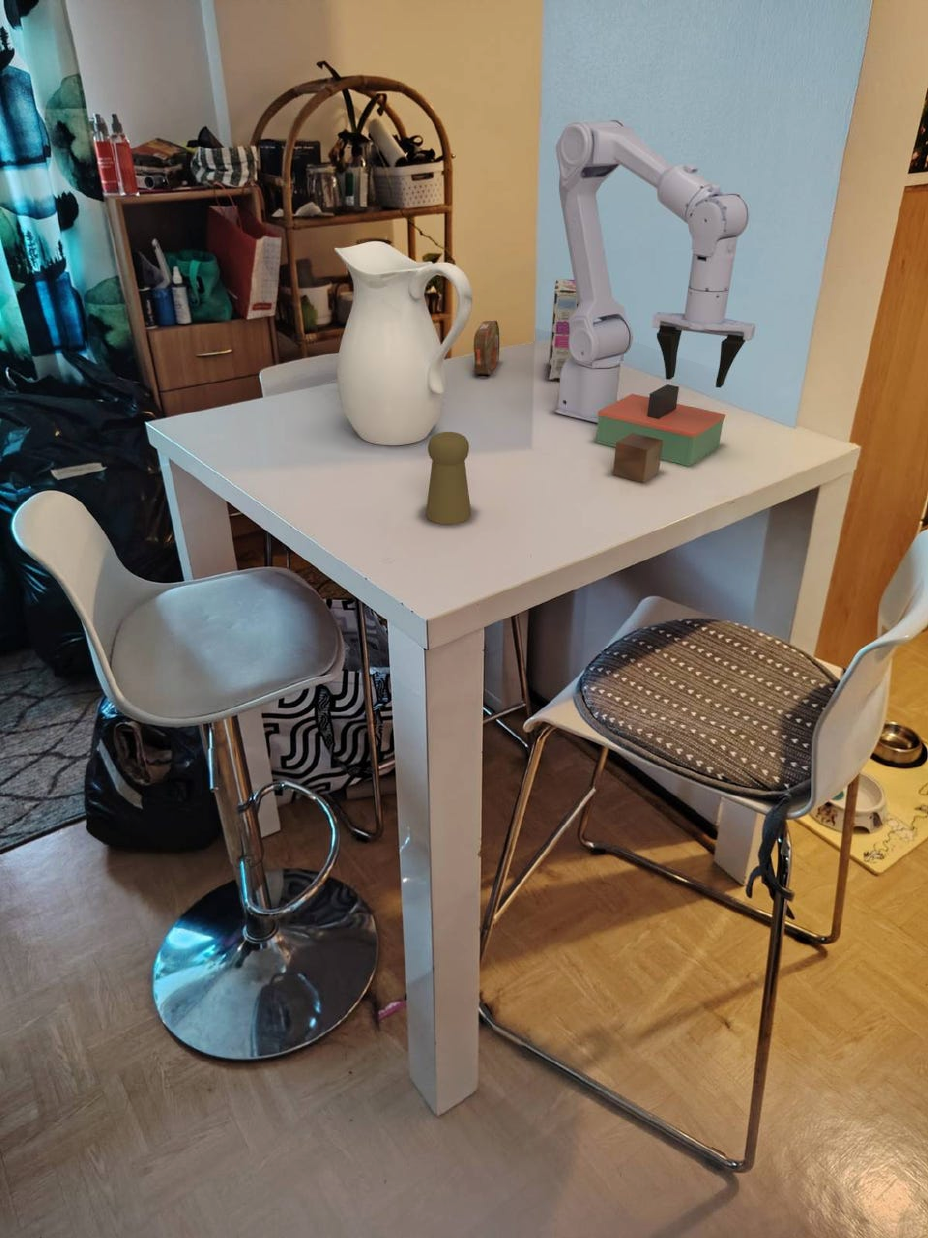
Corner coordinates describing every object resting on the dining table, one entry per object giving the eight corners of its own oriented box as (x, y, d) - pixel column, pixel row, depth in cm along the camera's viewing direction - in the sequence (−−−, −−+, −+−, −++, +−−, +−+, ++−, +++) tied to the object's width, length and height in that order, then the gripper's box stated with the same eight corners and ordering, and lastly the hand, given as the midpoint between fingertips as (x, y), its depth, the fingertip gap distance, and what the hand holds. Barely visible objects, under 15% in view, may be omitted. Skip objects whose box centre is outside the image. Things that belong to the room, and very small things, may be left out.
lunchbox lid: (597, 414, 139) (600, 388, 137) (631, 397, 146) (634, 371, 144) (694, 438, 131) (698, 410, 128) (724, 417, 138) (729, 391, 136)
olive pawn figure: (424, 505, 120) (423, 427, 115) (469, 504, 121) (470, 426, 115) (426, 525, 115) (425, 444, 109) (473, 523, 116) (474, 443, 110)
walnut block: (612, 474, 130) (615, 442, 127) (628, 464, 134) (632, 432, 131) (643, 483, 128) (647, 450, 125) (659, 472, 131) (663, 440, 128)
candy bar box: (574, 382, 168) (581, 291, 159) (548, 381, 168) (553, 290, 160) (574, 365, 177) (581, 278, 169) (549, 364, 178) (554, 277, 169)
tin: (487, 380, 168) (488, 335, 164) (470, 379, 169) (471, 334, 164) (500, 358, 181) (501, 316, 176) (485, 357, 181) (486, 315, 177)
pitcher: (319, 434, 143) (304, 248, 128) (395, 409, 154) (390, 235, 139) (424, 475, 129) (421, 272, 115) (500, 444, 140) (506, 256, 125)
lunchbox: (595, 442, 141) (598, 414, 139) (629, 423, 149) (631, 397, 146) (689, 466, 133) (693, 437, 131) (719, 445, 141) (724, 417, 138)
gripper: (650, 286, 127) (639, 381, 135) (753, 298, 122) (735, 396, 129) (666, 278, 133) (654, 369, 140) (764, 289, 127) (747, 383, 134)
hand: (694, 381), depth 135 cm, fingers open, 7 cm apart
